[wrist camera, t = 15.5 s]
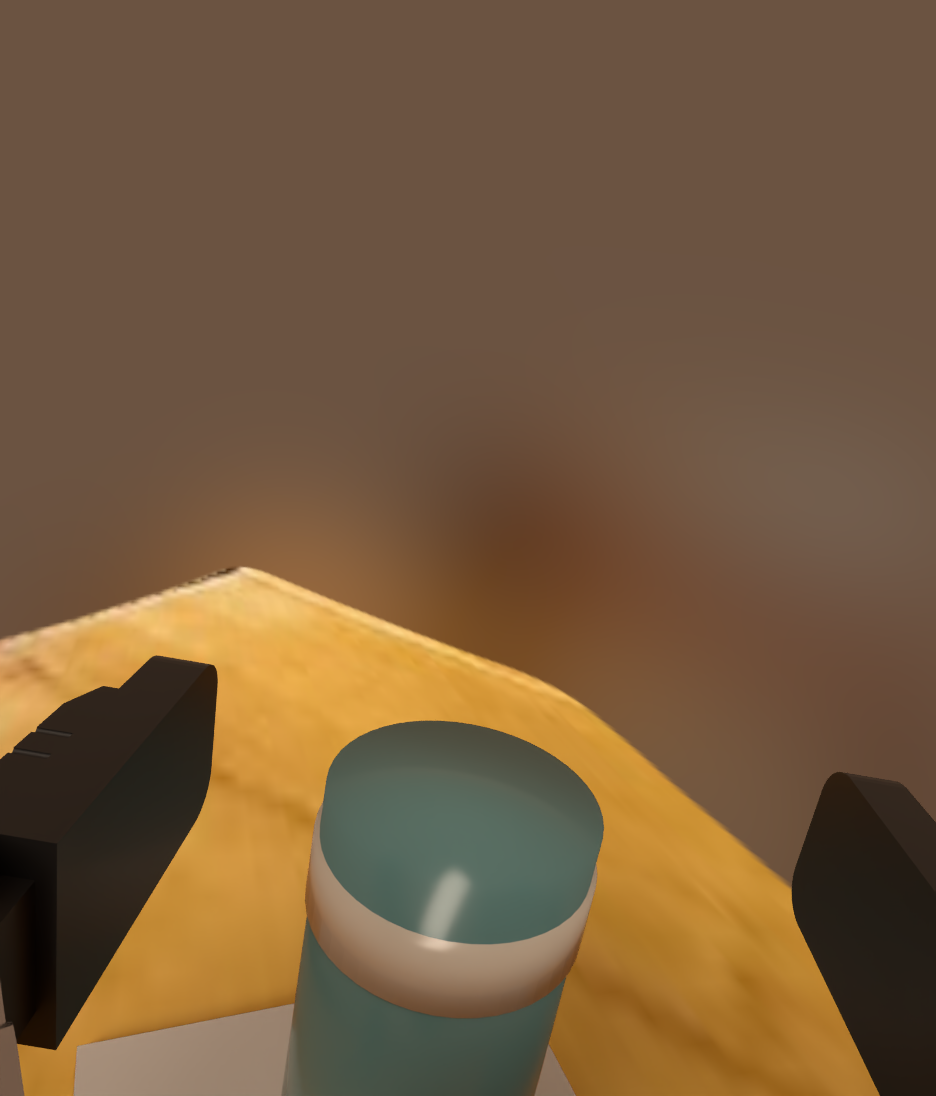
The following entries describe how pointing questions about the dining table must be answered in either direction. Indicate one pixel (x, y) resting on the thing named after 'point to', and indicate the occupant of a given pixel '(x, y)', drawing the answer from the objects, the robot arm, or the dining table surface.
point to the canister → (440, 914)
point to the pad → (216, 1060)
